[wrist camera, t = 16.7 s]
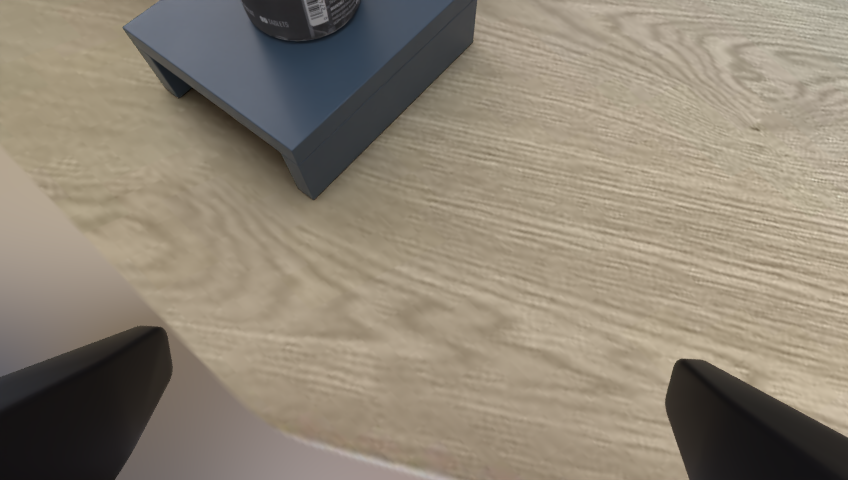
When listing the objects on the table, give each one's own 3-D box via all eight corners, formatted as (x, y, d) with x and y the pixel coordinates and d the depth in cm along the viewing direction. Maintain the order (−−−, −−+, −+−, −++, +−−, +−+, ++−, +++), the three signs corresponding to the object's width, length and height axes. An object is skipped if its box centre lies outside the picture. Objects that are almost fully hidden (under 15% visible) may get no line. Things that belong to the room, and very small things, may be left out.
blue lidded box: (313, 200, 25) (291, 151, 21) (165, 88, 29) (121, 26, 25) (473, 42, 30) (480, -25, 26) (329, -40, 33) (315, -111, 29)
